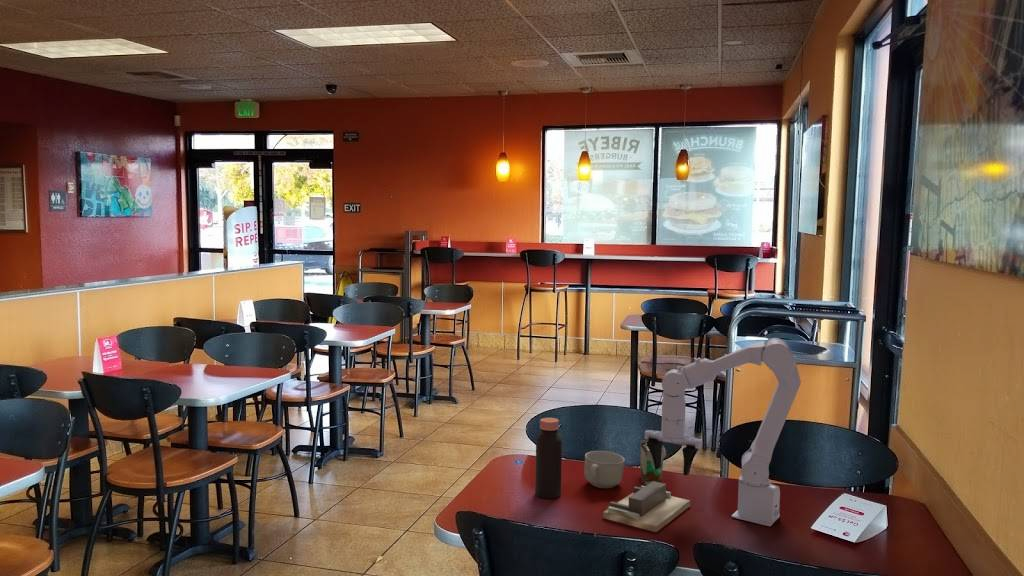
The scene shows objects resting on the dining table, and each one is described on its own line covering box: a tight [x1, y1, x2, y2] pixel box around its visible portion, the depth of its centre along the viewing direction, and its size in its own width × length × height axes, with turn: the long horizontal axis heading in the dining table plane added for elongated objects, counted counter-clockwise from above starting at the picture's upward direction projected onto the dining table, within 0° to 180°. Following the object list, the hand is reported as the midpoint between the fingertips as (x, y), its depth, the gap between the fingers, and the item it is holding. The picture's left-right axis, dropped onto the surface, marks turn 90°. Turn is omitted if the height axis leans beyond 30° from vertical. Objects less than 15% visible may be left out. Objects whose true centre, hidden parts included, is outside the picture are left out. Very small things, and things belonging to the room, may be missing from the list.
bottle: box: [534, 417, 563, 500], centre depth 200 cm, size 7×7×20 cm
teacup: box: [583, 450, 626, 489], centre depth 207 cm, size 14×11×8 cm
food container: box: [639, 439, 667, 486], centre depth 211 cm, size 12×6×10 cm, turn 179°
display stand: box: [602, 484, 691, 533], centre depth 190 cm, size 14×20×3 cm
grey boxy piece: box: [609, 481, 667, 517], centre depth 191 cm, size 8×14×4 cm, turn 145°
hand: (672, 471), depth 193 cm, fingers open, 7 cm apart
